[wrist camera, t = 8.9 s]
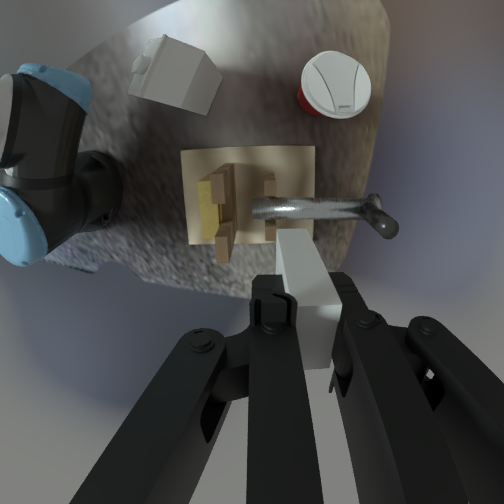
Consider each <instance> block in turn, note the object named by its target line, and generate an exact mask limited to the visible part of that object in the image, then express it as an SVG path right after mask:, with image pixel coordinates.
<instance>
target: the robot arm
mask: <svg viewBox="0 0 504 504" xmlns="http://www.w3.org/2000/svg"><path fill="white" fill-rule="evenodd" d="M91 94H92V86H91V83H90V82H89V81H88V80H87V79H86V78H85V77H83V76H81V75H78V74H76V73H73V72H70V71H67V70H64V69H60V68H57V67H52V66H48V67H47V66H45V65H41V64H34V63H27V64H23V65H22V66H21V67H20V69H19V70H18V71H17V74H6V75H4V76H3V77H2V78H1V79H0V254H1V255H2V256H3V257H4V258H5V259H6V260H8V261H9V262H11V263H12V264H14V265H17V266H28V265H30V264H32V263H34V262H36V261H37V260H39V259H42V258H44V257H45V256H46V255H47V254H48V253H50V252H51V251H52V250H54V249H55V248H56V247H58V246H59V245H61V244H62V243H63V242H65V241H66V240H67V239H69V238H70V237H72V236H73V235H74V234H76V233H82V232H93V231H96V230H99V229H101V228H102V227H104V226H105V225H107V224H108V223H110V222H111V221H112V220H113V219H114V217H115V216H116V214H117V212H118V210H119V208H120V204H121V199H122V186H121V181H120V177H119V174H118V172H117V170H116V168H115V166H114V165H113V164H112V162H111V161H110V160H109V159H108V158H107V157H105V156H104V155H102V154H100V153H98V152H94V151H85V152H79V153H78V148H79V143H80V138H81V134H82V130H83V125H84V121H85V118H86V116H87V115H88V106H89V102H90V98H91ZM249 305H250V325H249V326H248V328H247V329H245V330H244V331H243V332H241V333H239V334H236V335H233V336H229V337H224V336H223V335H222V334H221V333H219V332H218V331H216V330H213V329H207V328H206V329H205V328H200V329H195V330H192V331H190V332H188V333H186V334H184V335H183V336H182V337H181V339H180V340H179V341H178V343H177V344H176V346H175V347H174V349H173V350H172V351H171V353H170V354H169V356H168V357H167V359H166V360H165V362H164V363H163V364H162V366H161V367H160V369H159V370H158V372H157V373H156V375H155V376H154V378H153V379H152V381H151V382H150V384H149V385H148V386H147V388H146V389H145V391H144V392H143V394H142V395H141V397H140V398H139V400H138V401H137V403H136V404H135V406H134V407H133V408H132V410H131V411H130V413H129V415H128V416H127V417H126V419H125V420H124V422H123V424H122V425H121V427H120V428H119V429H118V431H117V432H116V434H115V435H114V437H113V438H112V440H111V441H110V443H109V444H108V446H107V447H106V449H105V450H104V452H103V453H102V455H101V456H100V458H99V459H98V461H97V462H96V464H95V465H94V467H93V468H92V470H91V471H90V473H89V474H88V476H87V477H86V479H85V481H84V482H83V483H82V485H81V486H80V488H79V489H78V491H77V492H76V494H75V495H74V497H73V499H72V500H71V502H70V503H69V504H189V502H190V499H191V497H192V495H193V493H194V491H195V488H196V486H197V484H198V481H199V479H200V477H201V475H202V472H203V470H204V468H205V465H206V463H207V461H208V458H209V456H210V453H211V451H212V449H213V446H214V444H215V442H216V439H217V437H218V434H219V432H220V430H221V427H222V425H223V422H224V420H225V417H226V415H227V413H228V410H229V408H230V405H231V401H233V400H237V399H241V398H244V397H248V396H249V402H248V447H247V451H248V452H247V491H246V504H324V502H323V494H322V486H321V478H320V471H319V464H318V457H317V450H316V443H315V437H314V430H313V423H312V417H311V411H310V405H309V398H308V393H307V386H306V380H305V374H304V370H309V369H323V368H329V367H330V363H331V359H333V363H334V366H335V367H334V371H333V375H332V378H331V382H330V386H329V393H332V390H333V387H335V391H336V395H337V400H338V404H339V407H340V412H341V416H342V421H343V425H344V429H345V434H346V438H347V443H348V448H349V452H350V457H351V462H352V467H353V471H354V476H355V482H356V487H357V492H358V498H359V503H360V504H504V384H503V382H502V381H501V380H500V379H499V378H498V377H497V376H496V375H495V374H494V373H493V372H492V371H491V370H490V369H489V368H488V367H487V366H486V365H485V364H484V363H483V362H482V361H481V360H480V359H479V358H478V357H477V356H476V355H474V353H472V352H471V350H469V349H468V348H467V347H466V346H465V345H464V344H463V343H462V342H461V341H460V340H459V339H458V338H457V337H456V336H454V335H453V334H452V333H451V332H450V331H449V330H448V329H447V328H446V327H445V326H444V325H442V324H441V323H440V322H439V321H437V320H435V319H433V318H431V317H427V316H418V317H415V318H413V319H412V320H411V321H410V323H409V326H408V328H406V327H397V326H391V325H388V324H387V322H386V321H385V319H384V318H383V317H382V316H381V315H380V314H378V313H377V312H375V311H372V310H369V309H368V307H367V306H366V304H365V302H364V300H363V298H362V297H361V295H360V293H359V292H358V290H357V288H356V286H355V284H354V283H353V281H352V279H351V278H350V277H349V276H347V275H346V274H345V273H343V272H327V270H326V268H325V265H324V263H323V261H322V259H321V257H320V255H319V253H318V251H317V249H316V247H315V245H314V243H313V241H312V238H311V236H310V234H309V232H308V230H307V229H277V232H276V275H257V276H256V277H255V278H254V280H253V281H252V298H251V301H250V304H249ZM429 369H430V370H431V371H432V372H433V373H434V376H433V378H432V379H429V378H428V377H427V376H426V374H427V372H428V370H429ZM468 502H469V503H468Z"/></svg>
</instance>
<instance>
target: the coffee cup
mask: <svg viewBox="0 0 504 504" xmlns="http://www.w3.org/2000/svg"><path fill="white" fill-rule="evenodd" d="M370 96H371V82H370V78H369V76H368V73H367V72H366V70H365V69H364V67H363V66H362V65H361V64H360V63H358V62H357V61H356V60H354V59H353V58H351V57H349V56H347V55H345V54H342V53H339V52H337V51H325V52H321V53H319V54H318V55H316V56H315V57H313V58H312V59H311V60H310V61H309V62H308V63H307V64H306V65H305V67H304V69H303V72H302V76H301V85H300V87H299V90H298V95H297V99H298V103H299V105H300V107H301V108H302V109H303V110H304V111H305V112H306V113H308V114H310V115H313V116H329V117H332V118H339V119H344V118H350V117H353V116H355V115H357V114H359V113H360V112H361V111H362V110H363V109H364V108H365V107H366V106H367V104H368V102H369V100H370Z"/></svg>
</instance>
